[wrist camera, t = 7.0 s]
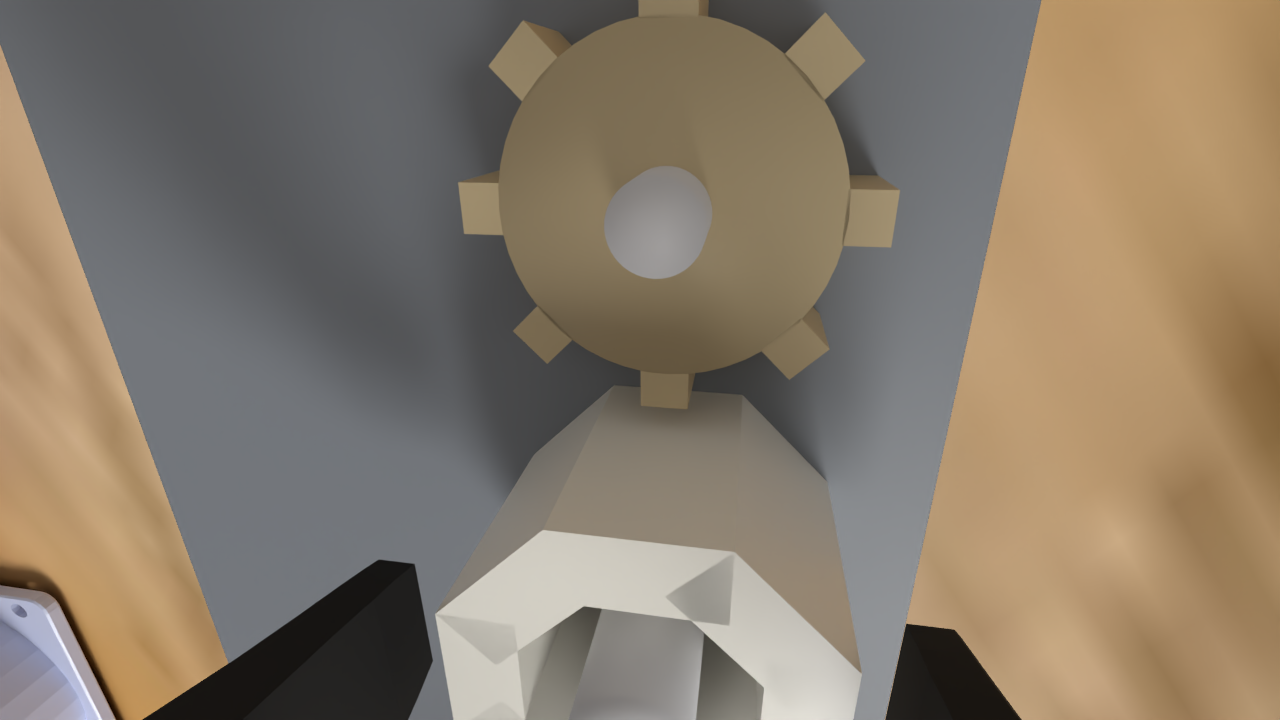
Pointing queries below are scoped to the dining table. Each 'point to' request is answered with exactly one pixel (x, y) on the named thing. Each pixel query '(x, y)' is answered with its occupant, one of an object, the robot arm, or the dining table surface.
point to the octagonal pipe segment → (658, 566)
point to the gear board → (416, 318)
